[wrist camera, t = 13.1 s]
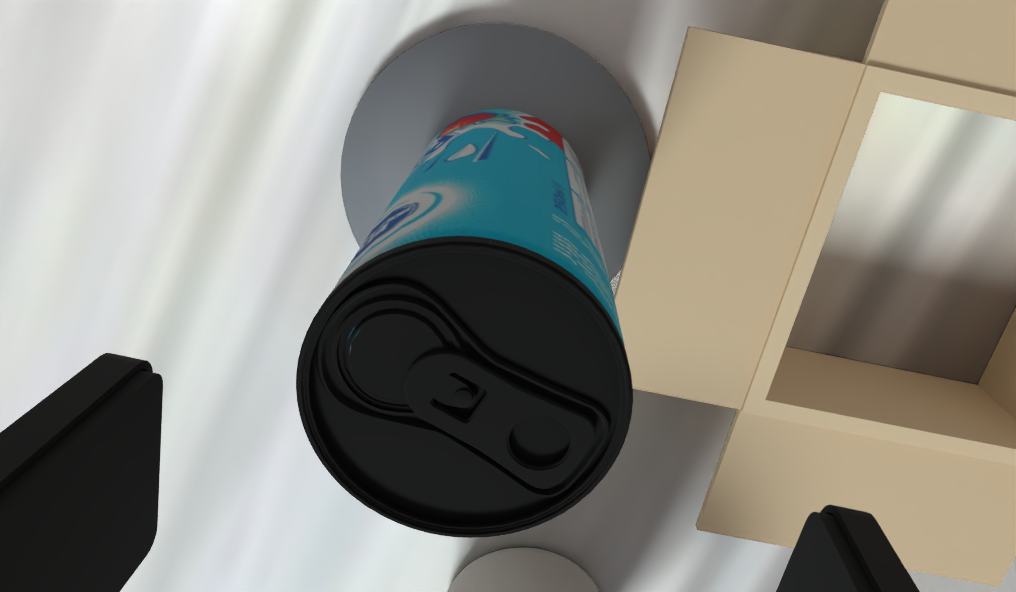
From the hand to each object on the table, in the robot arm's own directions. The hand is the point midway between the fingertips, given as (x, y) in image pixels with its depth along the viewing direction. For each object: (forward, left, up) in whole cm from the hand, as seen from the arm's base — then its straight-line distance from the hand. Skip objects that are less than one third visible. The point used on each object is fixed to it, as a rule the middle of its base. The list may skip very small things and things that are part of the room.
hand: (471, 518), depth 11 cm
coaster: (+1, 0, -18) cm, 18 cm away
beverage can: (0, 0, -18) cm, 18 cm away
